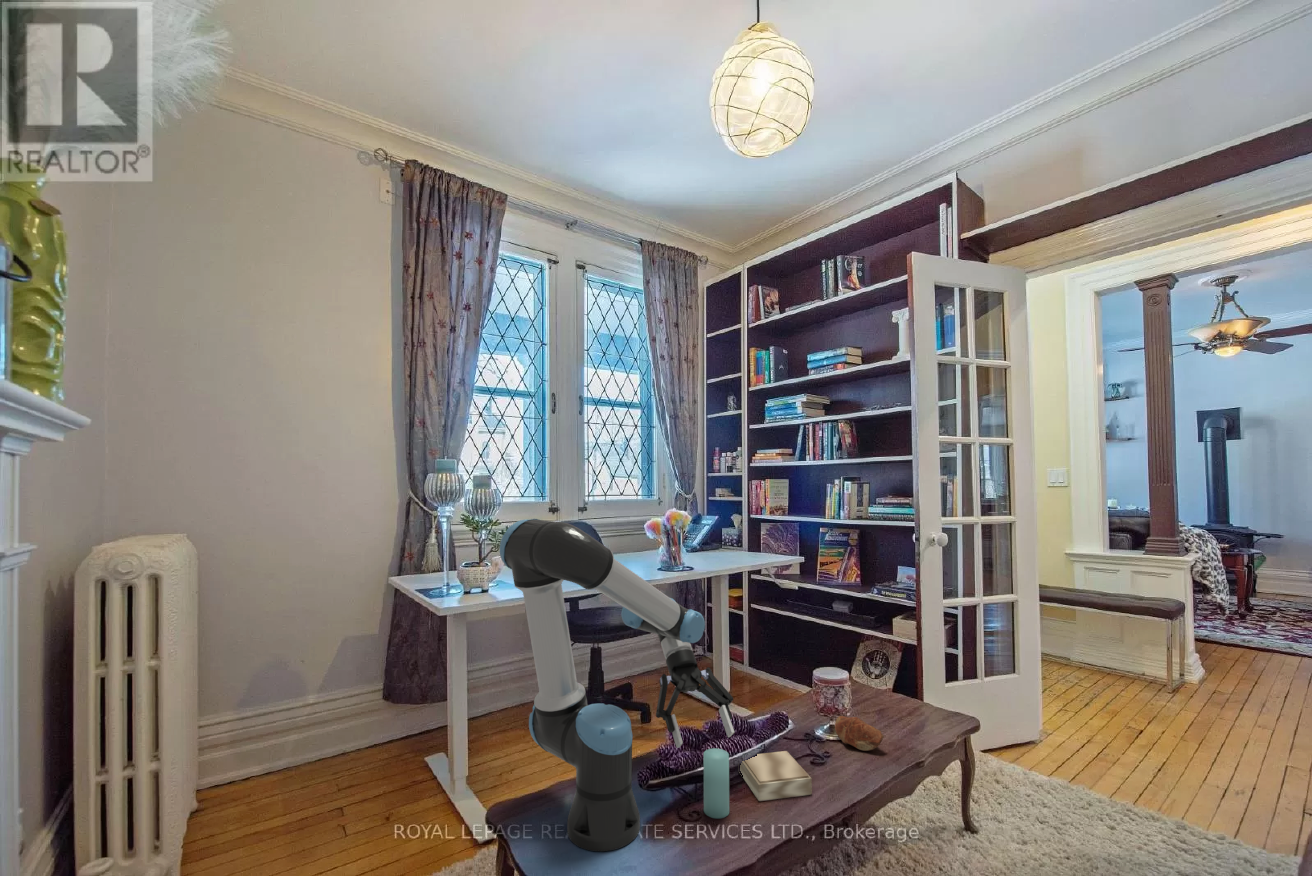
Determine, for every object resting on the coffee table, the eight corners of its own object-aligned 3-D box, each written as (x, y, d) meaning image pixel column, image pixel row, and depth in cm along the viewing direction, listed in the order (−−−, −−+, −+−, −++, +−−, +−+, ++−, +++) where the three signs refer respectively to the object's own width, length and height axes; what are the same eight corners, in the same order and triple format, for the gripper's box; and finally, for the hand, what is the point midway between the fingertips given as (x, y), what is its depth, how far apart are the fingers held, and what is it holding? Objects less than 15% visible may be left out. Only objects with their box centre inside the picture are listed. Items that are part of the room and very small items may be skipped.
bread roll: (826, 722, 161) (846, 696, 159) (847, 731, 164) (868, 705, 162) (848, 759, 149) (870, 731, 147) (870, 769, 152) (893, 741, 150)
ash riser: (758, 801, 129) (758, 782, 129) (738, 771, 141) (738, 755, 142) (811, 794, 131) (811, 776, 131) (787, 766, 144) (787, 749, 144)
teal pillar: (708, 820, 122) (707, 762, 122) (700, 805, 127) (700, 749, 128) (732, 816, 123) (732, 759, 124) (724, 802, 128) (724, 747, 129)
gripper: (716, 656, 155) (745, 736, 141) (630, 668, 145) (652, 756, 131) (726, 642, 150) (757, 724, 136) (638, 654, 141) (661, 743, 126)
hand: (706, 740), depth 133 cm, fingers open, 13 cm apart
